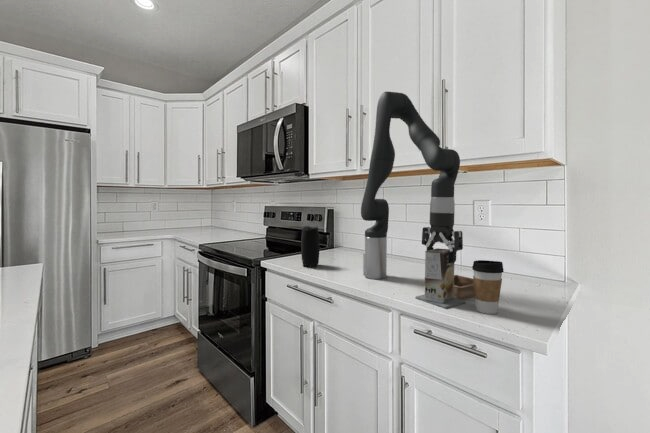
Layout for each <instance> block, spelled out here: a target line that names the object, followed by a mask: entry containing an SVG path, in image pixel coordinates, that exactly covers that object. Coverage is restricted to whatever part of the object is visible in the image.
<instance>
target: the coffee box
mask: <svg viewBox="0 0 650 433" xmlns="http://www.w3.org/2000/svg"><path fill="white" fill-rule="evenodd" d="M449 252H450V250H449V248H434V249H432V250H428V251H427V250H425V252H424V253H425V254H424V255H425V258H424V259H425V260H424V262H425V263H424V264H425V265H424V294H425V297H424V299H425V300H429V301H433V302H438V303H444V302H446V301H448V300H450V299H451V298H453V297H454V275H455V263H449Z"/></svg>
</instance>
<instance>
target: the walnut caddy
mask: <svg viewBox="0 0 650 433" xmlns="http://www.w3.org/2000/svg"><path fill="white" fill-rule="evenodd" d="M472 297H474V298H475V292H474V279H473V278H471V277H468V276H464V275H459V274H454V298H457V299H460V300H465V299H469V298H472Z"/></svg>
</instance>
